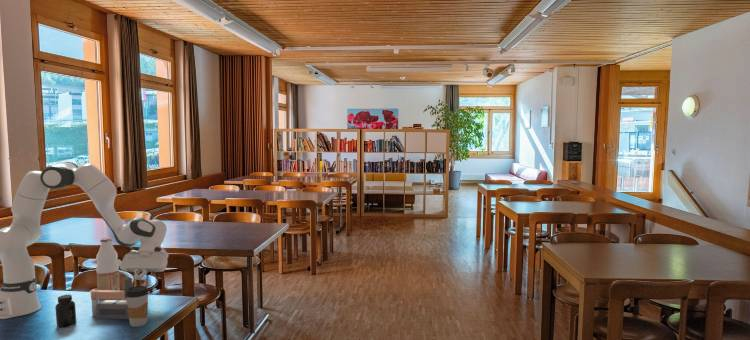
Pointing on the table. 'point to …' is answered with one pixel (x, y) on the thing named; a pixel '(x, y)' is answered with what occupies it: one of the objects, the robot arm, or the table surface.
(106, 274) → the fruit juice
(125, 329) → the table surface
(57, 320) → the supplement bottle
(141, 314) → the coffee cup
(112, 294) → the swing arm
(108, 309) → the box
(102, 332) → the table surface
